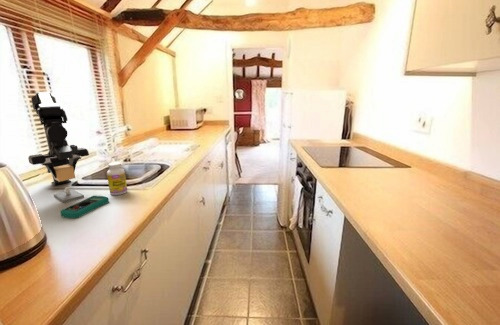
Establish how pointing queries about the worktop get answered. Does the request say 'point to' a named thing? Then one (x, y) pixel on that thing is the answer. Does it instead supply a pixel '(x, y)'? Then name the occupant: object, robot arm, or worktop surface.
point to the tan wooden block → (64, 172)
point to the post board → (68, 195)
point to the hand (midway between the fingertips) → (64, 176)
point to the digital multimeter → (84, 207)
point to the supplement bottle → (116, 179)
